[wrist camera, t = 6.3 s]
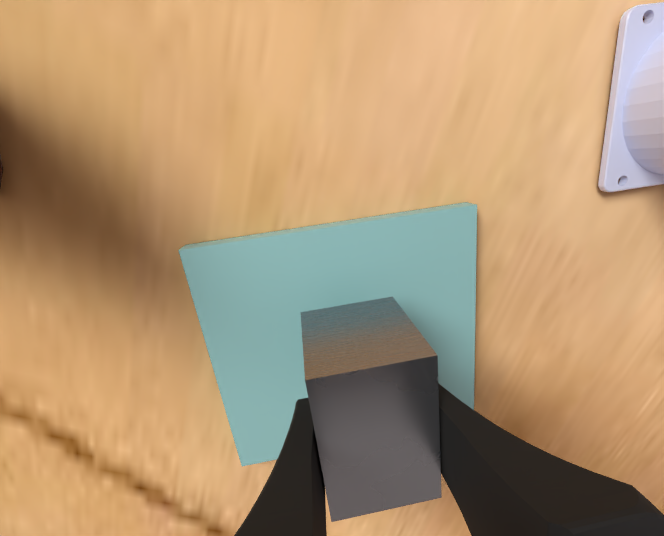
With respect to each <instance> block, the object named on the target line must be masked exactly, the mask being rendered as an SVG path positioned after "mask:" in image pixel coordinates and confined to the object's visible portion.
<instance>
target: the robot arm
mask: <svg viewBox="0 0 664 536" xmlns="http://www.w3.org/2000/svg"><path fill="white" fill-rule="evenodd" d="M643 15H644V19H645V20H644V22H643ZM619 178H620V181H619V183H618V180H619ZM661 184H664V2H661V3H652V4H643V5H637V6H634V7H632V8H630V9H628V10H627V11H626V12H624V14H623V15H622V17H621V20H620V24H619V32H618V39H617V47H616V54H615V62H614V69H613V77H612V84H611V92H610V100H609V107H608V115H607V122H606V130H605V137H604V145H603V152H602V160H601V167H600V175H599V183H598V185H599V189H600V190H601V191H603V192H615V191H622V190H628V189H635V188H641V187H648V186H654V185H661ZM438 388H439V425H440V463H441V473H442V475H443V477H444V479H445V481H446V483H447V485H448V487H449V488H450V490H451V492H452V494H453V496H454V498H455V500H456V502H457V504H458V506H459V508H460V510H461V512H462V514H463V517H464V519H465V521H466V524H467V526H468V528H469V531H470V533H471V535H472V536H664V515H663V514H662V513H661V512H660V511H659V510H658V509H657V508H656V507H655V506H654V505H653V504H652V503H651V502H650V501H649V500H648V499H647V498H645V497H644V496H643V495H642V494H641V493H640V492H639V491H638V490H636V489H635V488H634V487H633V486H632V485H629V484H626V483H623V482H620V481H617V480H614V479H612V478H609V477H606V476H603V475H600V474H597V473H594V472H592V471H589V470H587V469H584V468H582V467H579V466H577V465H574V464H572V463H569V462H567V461H565V460H562V459H560V458H558V457H556V456H553V455H551V454H549V453H547V452H545V451H543V450H541V449H539V448H537V447H535V446H533V445H531V444H529V443H527V442H525V441H523V440H521V439H519V438H518V437H516V436H514V435H512V434H511V433H509V432H507V431H505V430H503V429H502V428H500V427H498V426H497V425H495V424H494V423H492V422H491V421H489V420H488V419H486V418H484V417H483V416H481V415H480V414H479V413H477V412H476V411H474V410H473V409H471V408H470V407H469V406H467V405H466V404H465V403H463V402H462V401H461V400H459V399H458V398H457V397H455V396H454V395H453V394H451V393H450V392H449V391H448V390H446V389H445V388H444V387H443V386H441V385H440V384H439V383H438ZM234 536H327V535H326V509H325V484H324V478H323V473H322V468H321V462H320V457H319V452H318V447H317V441H316V436H315V431H314V425H313V420H312V415H311V409H310V404H309V399H308V398H303V399H298V400H297V402H296V404H295V410H294V414H293V418H292V421H291V424H290V428H289V430H288V433H287V436H286V439H285V442H284V444H283V447H282V449H281V452H280V454H279V456H278V459H277V461H276V464H275V466H274V468H273V470H272V472H271V474H270V476H269V478H268V480H267V482H266V484H265V486H264V488H263V490H262V492H261V494H260V495H259V497H258V499H257V501H256V502H255V504H254V506H253V508H252V509H251V511H250V513H249V514H248V516H247V517H246V519H245V521H244V522H243V524H242V525H241V527H240V528H239V529H238V531H237V532H236V534H235V535H234Z"/></svg>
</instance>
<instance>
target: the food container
mask: <svg viewBox="0 0 664 536" xmlns="http://www.w3.org/2000/svg"><path fill="white" fill-rule="evenodd" d="M2 173H3V167H2V162H1V156H0V186H1V179H2Z"/></svg>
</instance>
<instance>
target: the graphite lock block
mask: <svg viewBox="0 0 664 536" xmlns="http://www.w3.org/2000/svg"><path fill="white" fill-rule="evenodd" d="M301 327H302V342H303V357H304V372H305V383H306V388H307V393H308V399H309V404H310V409H311V415H312V420H313V425H314V431H315V436H316V441H317V447H318V452H319V457H320V462H321V468H322V473H323V478H324V484H325V489H326V494H327V500H328V505H329V510H330V516H331V521H332V522H334V521H338V520H343V519H347V518H352V517H356V516H361V515H365V514H370V513H374V512H379V511H383V510H388V509H392V508H397V507H401V506H406V505H410V504H415V503H419V502H424V501H428V500H433V499H437V498H441V463H440V425H439V388H438V355H437V354H436V353H435V351H434V350H433V349H432V347H431V346H430V345H429V343H428V342H427V341H426V339H425V338H424V337H423V336H422V334H421V333H420V332H419V330H418V329H417V328H416V326H415V325H414V324H413V322H412V321H411V320H410V319H409V317H408V316H407V315H406V313H405V312H404V311H403V309H402V308H401V307H400V305H399V304H398V303H397V302H396V300H395V299H394V298H393V296H392V297H387V298H381V299H375V300H369V301H363V302H357V303H352V304H346V305H340V306H334V307H328V308H323V309H317V310H311V311H305V312H301Z"/></svg>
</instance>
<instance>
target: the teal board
mask: <svg viewBox="0 0 664 536" xmlns="http://www.w3.org/2000/svg"><path fill="white" fill-rule="evenodd" d="M476 240H477V205H476V204H472V203H467V202H465V203H458V204H452V205H445V206H439V207H432V208H426V209H419V210H412V211H406V212H399V213H393V214H386V215H379V216H373V217H366V218H360V219H353V220H346V221H340V222H333V223H327V224H320V225H313V226H307V227H300V228H294V229H287V230H281V231H274V232H267V233H261V234H254V235H248V236H241V237H234V238H228V239H221V240H215V241H208V242H201V243H195V244H188V245H185V246H183V247H182V248H181V249H179V250H178V251H179V254H180V257H181V261H182V264H183V268H184V271H185V274H186V278H187V281H188V285H189V288H190V291H191V295H192V298H193V302H194V305H195V308H196V312H197V315H198V319H199V322H200V325H201V329H202V332H203V336H204V339H205V342H206V346H207V349H208V353H209V356H210V359H211V363H212V366H213V370H214V373H215V376H216V380H217V383H218V387H219V390H220V393H221V397H222V400H223V404H224V407H225V410H226V414H227V417H228V421H229V424H230V427H231V431H232V434H233V438H234V441H235V444H236V448H237V451H238V455H239V458H240V462H241V465H242V466H246V465H251V464H256V463H261V462H266V461H271V460H276V459H278V456H279V454H280V452H281V449H282V447H283V444H284V442H285V439H286V436H287V433H288V430H289V428H290V424H291V421H292V418H293V414H294V410H295V404H296V402H297V400H298V399H303V398H308V393H307V388H306V383H305V372H304V357H303V342H302V327H301V312H305V311H311V310H317V309H323V308H328V307H334V306H340V305H346V304H352V303H357V302H363V301H369V300H375V299H381V298H387V297H392V296H393V298H394V299H395V300H396V302H397V303H398V304H399V305H400V307H401V308H402V309H403V311H404V312H405V313H406V315H407V316H408V317H409V319H410V320H411V321H412V322H413V324H414V325H415V326H416V328H417V329H418V330H419V332H420V333H421V334H422V336H423V337H424V338H425V339H426V341H427V342H428V343H429V345H430V346H431V347H432V349H433V350H434V351H435V353H436V354H437V355H438V383H439V384H440V385H441V386H443V387H444V388H445V389H446V390H448V391H449V392H450V393H451V394H453V395H454V396H455V397H457V398H458V399H459V400H461V401H462V402H463V403H465V404H466V405H467V406H469V407H470V408H471V409H473V410H474V372H475V306H476Z"/></svg>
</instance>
